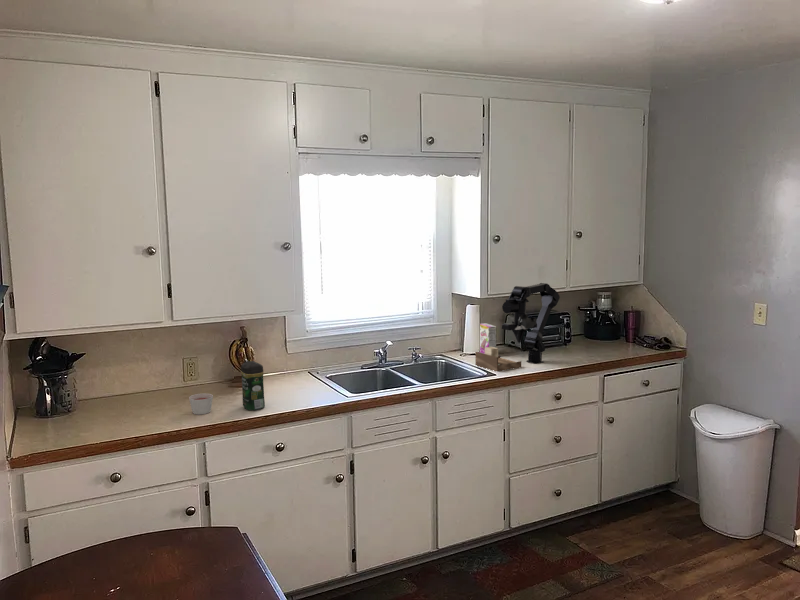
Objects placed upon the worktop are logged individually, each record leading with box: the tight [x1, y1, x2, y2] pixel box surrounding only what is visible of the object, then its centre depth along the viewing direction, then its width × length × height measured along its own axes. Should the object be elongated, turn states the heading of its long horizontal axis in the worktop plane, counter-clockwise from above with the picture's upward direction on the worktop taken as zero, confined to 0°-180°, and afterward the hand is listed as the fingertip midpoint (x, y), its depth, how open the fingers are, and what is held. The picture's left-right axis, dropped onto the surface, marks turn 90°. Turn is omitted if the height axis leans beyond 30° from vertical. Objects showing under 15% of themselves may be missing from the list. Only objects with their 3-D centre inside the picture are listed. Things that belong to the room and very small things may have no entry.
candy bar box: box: [479, 322, 497, 354], centre depth 355 cm, size 11×5×16 cm, turn 22°
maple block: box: [485, 347, 499, 357], centre depth 325 cm, size 4×5×8 cm
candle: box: [188, 392, 214, 415], centre depth 256 cm, size 9×9×6 cm
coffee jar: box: [240, 360, 266, 411], centre depth 261 cm, size 10×8×19 cm
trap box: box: [475, 351, 522, 372], centre depth 328 cm, size 16×16×7 cm
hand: (519, 342), depth 327 cm, fingers closed
